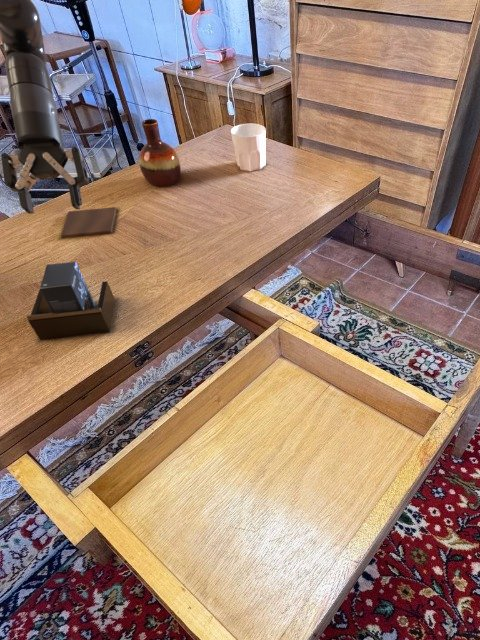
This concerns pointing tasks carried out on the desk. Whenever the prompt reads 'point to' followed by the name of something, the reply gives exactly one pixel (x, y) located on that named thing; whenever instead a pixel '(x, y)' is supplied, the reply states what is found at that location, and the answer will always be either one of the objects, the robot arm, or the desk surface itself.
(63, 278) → the box
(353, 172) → the desk surface
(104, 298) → the dark brown open tray
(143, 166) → the vase
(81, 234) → the plate
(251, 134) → the cup
